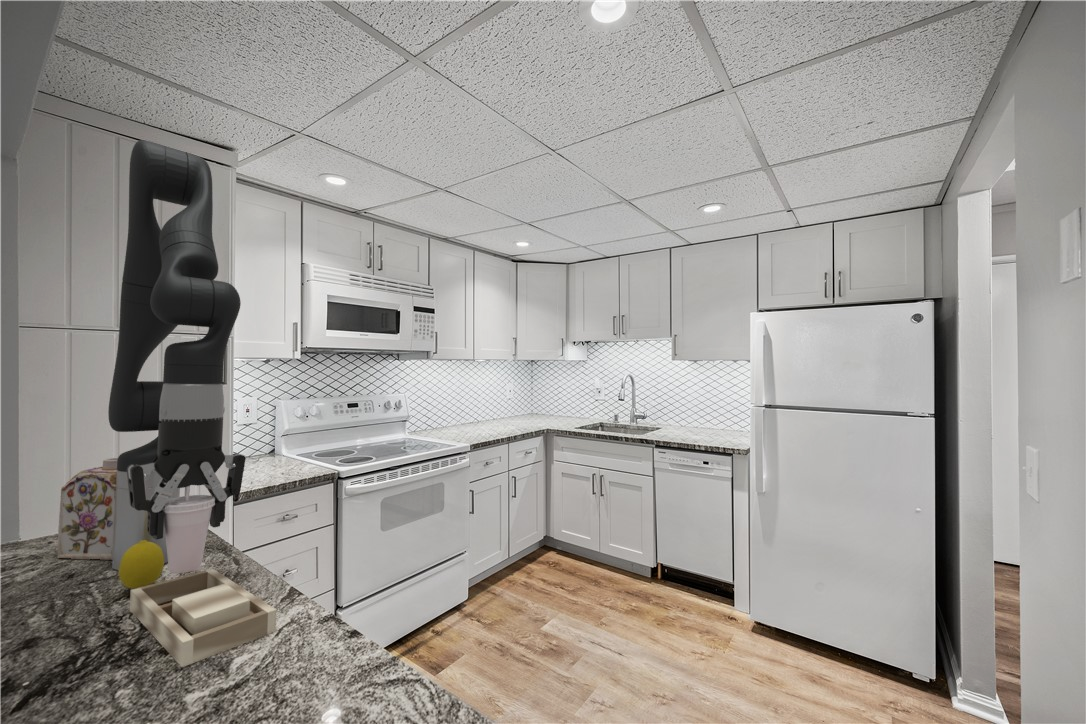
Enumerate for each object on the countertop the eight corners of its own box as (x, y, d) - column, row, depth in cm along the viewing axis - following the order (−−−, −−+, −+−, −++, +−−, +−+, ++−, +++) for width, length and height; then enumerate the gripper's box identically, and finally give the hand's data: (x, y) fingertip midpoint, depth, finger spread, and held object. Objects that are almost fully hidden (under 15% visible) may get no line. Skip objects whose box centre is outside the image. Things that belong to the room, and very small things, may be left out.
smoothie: (146, 578, 65) (151, 474, 65) (172, 560, 71) (177, 466, 72) (199, 576, 66) (203, 474, 67) (220, 558, 72) (225, 465, 73)
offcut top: (171, 615, 62) (172, 599, 62) (224, 598, 66) (225, 583, 66) (194, 635, 57) (194, 618, 57) (249, 615, 61) (249, 600, 62)
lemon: (110, 601, 72) (113, 547, 73) (126, 587, 77) (129, 537, 78) (155, 595, 74) (158, 543, 75) (168, 582, 80) (170, 533, 80)
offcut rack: (129, 619, 67) (130, 589, 67) (211, 594, 75) (212, 568, 75) (181, 679, 54) (183, 642, 54) (275, 641, 62) (276, 609, 62)
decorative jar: (167, 540, 100) (171, 454, 101) (115, 561, 88) (120, 463, 89) (112, 539, 101) (116, 453, 101) (53, 559, 89) (58, 462, 90)
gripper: (237, 411, 77) (232, 516, 77) (120, 416, 66) (114, 538, 65) (257, 414, 73) (252, 525, 72) (135, 419, 61) (129, 552, 61)
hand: (187, 531), depth 69 cm, fingers closed on smoothie, 6 cm apart
